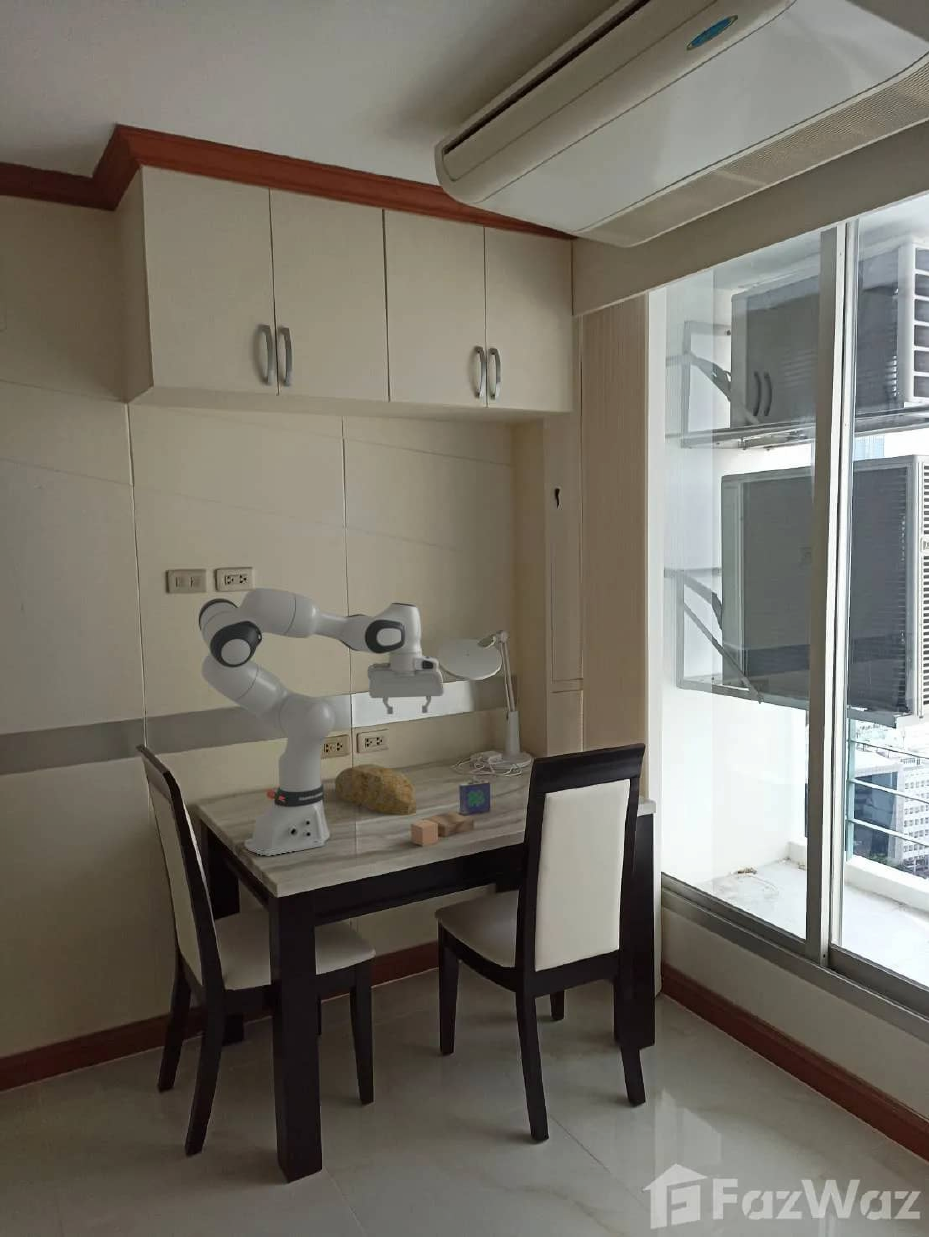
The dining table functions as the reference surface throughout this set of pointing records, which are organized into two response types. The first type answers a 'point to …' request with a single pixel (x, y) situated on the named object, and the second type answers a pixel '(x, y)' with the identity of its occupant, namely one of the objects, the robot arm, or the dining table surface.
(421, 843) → the terracotta block
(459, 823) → the walnut plinth
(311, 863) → the dining table surface
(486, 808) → the flask
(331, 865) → the dining table surface
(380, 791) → the bread
